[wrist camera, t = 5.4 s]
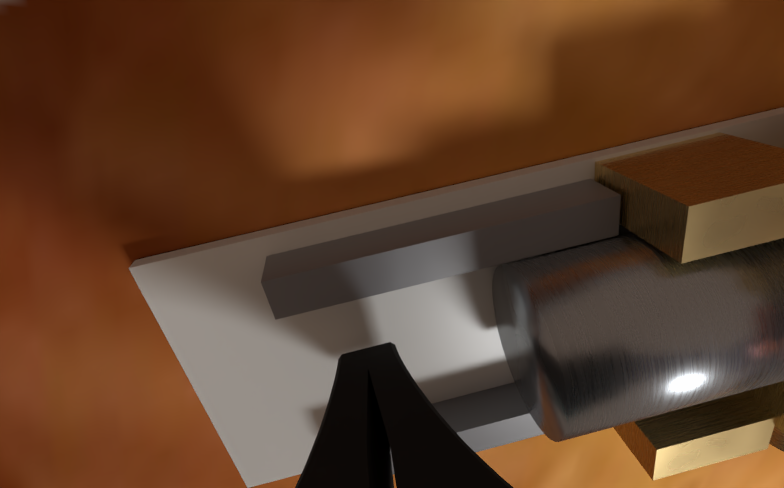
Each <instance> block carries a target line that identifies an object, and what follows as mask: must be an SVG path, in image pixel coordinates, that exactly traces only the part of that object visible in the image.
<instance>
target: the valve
mask: <svg viewBox="0 0 784 488" xmlns="http://www.w3.org/2000/svg"><path fill="white" fill-rule="evenodd" d="M594 181H596V182H598V183H600V184H602V185H603V186H605V187H607V188H609V189H611V190H613V191H614V192H616V193H618V194H620V195H621V201H620V220H619V224H620V225H622V226H623V227H625V228H627V229H628V230H630V231H631V232H633V233H634V234H636V235H637V236H639V237H641V238H642V239H644V240H645V241H647V242H648V243H650V244H652V245H653V246H655V247H656V248H658V249H659V250H661V251H662V252H664V253H666V254H667V255H669V256H670V257H672V258H673V259H675V260H676V261H678V262H680V263H681V264H682V263H686V262H690V261H694V260H698V259H702V258H706V257H710V256H714V255H718V254H722V253H726V252H730V251H734V250H738V249H742V248H746V247H750V246H754V245H757V244H761V243H765V242H769V241H773V240H777V239H781V238H784V148H780V147H776V146H772V145H768V144H764V143H760V142H756V141H752V140H748V139H744V138H740V137H736V136H732V135H728V134H724V133H720V132H719V133H715V134H711V135H706V136H702V137H698V138H694V139H689V140H685V141H681V142H677V143H673V144H668V145H664V146H660V147H656V148H651V149H647V150H643V151H639V152H635V153H630V154H626V155H622V156H618V157H614V158H609V159H605V160H601V161H597V162H595V178H594ZM613 428H614V429H615V430H616V432H617V433H618V434H619V436H620V437H621V438H622V440H623V441H624V442H625V444H626V445H627V446H628V448H629V449H630V450H631V452H632V453H633V454H634V456H635V457H636V458H637V460H638V461H639V462H640V464H641V465H642V466H643V468H644V469H645V471H646V472H647V473H648V475H649V476H650V477H651V479H652V480H656V479H660V478H664V477H667V476H671V475H674V474H678V473H682V472H685V471H689V470H692V469H696V468H700V467H703V466H707V465H710V464H714V463H718V462H721V461H725V460H728V459H732V458H736V457H739V456H743V455H746V454H750V453H754V452H757V451H761V450H764V449H768V445H769V444H771V445H773V446H774V447H776V448H778V449H780V450H782V451H784V381H782V382H778V383H774V384H771V385H767V386H763V387H759V388H756V389H752V390H748V391H745V392H741V393H737V394H734V395H730V396H726V397H722V398H719V399H715V400H711V401H708V402H704V403H700V404H697V405H693V406H689V407H686V408H682V409H678V410H674V411H671V412H667V413H663V414H660V415H656V416H652V417H649V418H645V419H641V420H637V421H634V422H630V423H626V424H623V425H619V426H615V427H613Z"/></svg>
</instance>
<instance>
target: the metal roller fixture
mask: <svg viewBox="0 0 784 488" xmlns="http://www.w3.org/2000/svg"><path fill="white" fill-rule="evenodd" d="M719 132H720V133H724V134H728V135H732V136H736V137H740V138H744V139H748V140H752V141H756V142H760V143H764V144H768V145H772V146H776V147H780V148H784V107H782V108H778V109H773V110H769V111H765V112H761V113H756V114H752V115H748V116H744V117H740V118H735V119H731V120H727V121H723V122H718V123H714V124H710V125H706V126H701V127H697V128H693V129H689V130H684V131H680V132H676V133H672V134H667V135H663V136H659V137H655V138H650V139H646V140H642V141H638V142H634V143H629V144H625V145H621V146H617V147H612V148H608V149H604V150H600V151H595V152H591V153H587V154H583V155H578V156H574V157H570V158H566V159H561V160H557V161H553V162H549V163H544V164H540V165H536V166H532V167H528V168H523V169H519V170H515V171H511V172H506V173H502V174H498V175H494V176H489V177H485V178H481V179H477V180H472V181H468V182H464V183H460V184H455V185H451V186H447V187H443V188H438V189H434V190H430V191H426V192H422V193H417V194H413V195H409V196H405V197H400V198H396V199H392V200H388V201H383V202H379V203H375V204H371V205H366V206H362V207H358V208H354V209H349V210H345V211H341V212H337V213H332V214H328V215H324V216H320V217H316V218H311V219H307V220H303V221H299V222H294V223H290V224H286V225H282V226H277V227H273V228H269V229H265V230H260V231H256V232H252V233H248V234H243V235H239V236H235V237H231V238H226V239H222V240H218V241H214V242H210V243H205V244H201V245H197V246H193V247H188V248H184V249H180V250H176V251H171V252H167V253H163V254H159V255H154V256H150V257H146V258H142V259H137V260H135V261H134V262H133V263H132V265H131V266H130V267H129V270H130V272H131V274H132V275H133V277H134V279H135V281H136V283H137V285H138V286H139V288H140V290H141V292H142V294H143V296H144V298H145V299H146V301H147V303H148V305H149V307H150V309H151V310H152V312H153V314H154V316H155V318H156V320H157V322H158V323H159V325H160V327H161V329H162V331H163V333H164V334H165V336H166V338H167V340H168V342H169V344H170V346H171V347H172V349H173V351H174V353H175V355H176V357H177V358H178V360H179V362H180V364H181V366H182V368H183V370H184V371H185V373H186V375H187V377H188V379H189V381H190V382H191V384H192V386H193V388H194V390H195V392H196V394H197V395H198V397H199V399H200V401H201V403H202V405H203V406H204V408H205V410H206V412H207V414H208V416H209V418H210V419H211V421H212V423H213V425H214V427H215V429H216V430H217V432H218V434H219V436H220V438H221V440H222V442H223V443H224V445H225V447H226V449H227V451H228V453H229V454H230V456H231V458H232V460H233V462H234V464H235V466H236V467H237V469H238V471H239V473H240V475H241V477H242V479H243V480H244V482H245V484H246V486H247V488H249V487H253V486H257V485H261V484H264V483H268V482H272V481H276V480H280V479H283V478H287V477H291V476H295V475H298V474H302V471H303V469H304V467H305V464H306V462H307V459H308V457H309V454H310V452H311V449H312V447H313V444H314V442H315V439H316V437H317V434H318V431H319V428H320V426H321V423H322V420H323V416H324V413H325V410H326V407H327V404H328V401H329V398H330V394H331V390H332V387H333V383H334V379H335V375H336V370H337V365H338V359H339V357H340V356H341V355H342V354H345V353H349V352H353V351H356V350H360V349H364V348H368V347H372V346H376V345H380V344H384V343H388V342H391V343H393V344H395V345H396V348H397V351H398V353H399V355H400V357H401V359H402V361H403V363H404V365H405V366H406V368H407V370H408V371H409V373H410V374H411V376H412V378H413V379H414V381H415V382H416V384H417V385H418V386H419V388H420V389H421V390H422V392H423V393H424V394H425V396H426V397H427V398H428V400H429V401H430V402H431V404H432V405H433V406H434V408H435V409H436V410H437V411H438V412H439V414H440V415H441V416H442V417H443V418H444V420H445V421H446V422H447V423H448V424H449V425H450V426H451V428H452V429H453V430H454V431H455V432H456V433H457V434H458V435H459V436H460V438H461V439H462V440H463V441H464V442H465V443H466V444H467V445H468V446H469V447H470V448H471V449H472V450H473V451H474V452H478V451H482V450H486V449H490V448H493V447H497V446H501V445H505V444H508V443H512V442H516V441H520V440H523V439H527V438H531V437H534V436H538V435H542V434H544V433H543V432H542V431H541V429H540V428H539V427H538V425H537V424H536V422H535V421H534V419H533V418H532V416H531V414H530V413H529V411H528V409H527V407H526V406H525V404H524V402H523V400H522V398H521V395H520V393H519V391H518V389H517V387H516V384H515V382H514V379H513V377H512V374H511V372H510V369H509V366H508V363H507V360H506V357H505V354H504V351H503V348H502V344H501V340H500V337H499V333H498V328H497V324H496V319H495V313H494V306H493V296H492V281H493V275H494V271H495V269H496V268H497V267H498V266H499V265H501V264H505V263H509V262H513V261H517V260H521V259H525V258H529V257H533V256H537V255H541V254H545V253H549V252H554V251H558V250H562V249H566V248H570V247H574V246H578V245H582V244H586V243H590V242H594V241H598V240H602V239H606V238H610V237H614V236H618V235H622V234H626V233H630V232H631V231H630V230H628V229H627V228H625V227H623V226H622V225H620V224H619V220H620V201H621V195H620V194H618V193H616V192H614V191H613V190H611V189H609V188H607V187H605V186H603V185H602V184H600V183H598V182H596V181H594V178H595V162H597V161H601V160H605V159H609V158H614V157H618V156H622V155H626V154H630V153H635V152H639V151H643V150H647V149H651V148H656V147H660V146H664V145H668V144H673V143H677V142H681V141H685V140H689V139H694V138H698V137H702V136H706V135H711V134H715V133H719ZM390 453H391V449H390ZM391 463H392V473H393V474H395V473H394V467H393V461H392V454H391Z"/></svg>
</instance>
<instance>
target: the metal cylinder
mask: <svg viewBox="0 0 784 488" xmlns="http://www.w3.org/2000/svg"><path fill="white" fill-rule="evenodd" d="M492 296H493V306H494V313H495V319H496V324H497V328H498V333H499V337H500V340H501V344H502V348H503V351H504V354H505V357H506V360H507V363H508V366H509V369H510V372H511V374H512V377H513V379H514V382H515V384H516V387H517V389H518V391H519V393H520V395H521V398H522V400H523V402H524V404H525V406H526V407H527V409H528V411H529V413H530V414H531V416H532V418H533V419H534V421H535V422H536V424H537V425H538V427H539V428H540V429H541V431H542V432H543V433H544V434H545V435H546V436H547V437H548V438H550V439H551V440H553V441H555V442H560V441H564V440H567V439H571V438H575V437H578V436H582V435H586V434H589V433H593V432H597V431H601V430H604V429H608V428H612V427H615V426H619V425H623V424H626V423H630V422H634V421H637V420H641V419H645V418H649V417H652V416H656V415H660V414H663V413H667V412H671V411H674V410H678V409H682V408H686V407H689V406H693V405H697V404H700V403H704V402H708V401H711V400H715V399H719V398H722V397H726V396H730V395H734V394H737V393H741V392H745V391H748V390H752V389H756V388H759V387H763V386H767V385H771V384H774V383H778V382H782V381H784V238H781V239H777V240H773V241H769V242H765V243H761V244H757V245H754V246H750V247H746V248H742V249H738V250H734V251H730V252H726V253H722V254H718V255H714V256H710V257H706V258H702V259H698V260H694V261H690V262H686V263H682V264H681V263H680V262H678V261H676V260H675V259H673V258H672V257H670V256H669V255H667V254H666V253H664V252H662V251H661V250H659V249H658V248H656V247H655V246H653V245H652V244H650V243H648V242H647V241H645V240H644V239H642V238H641V237H639V236H637V235H636V234H634V233H633V232H630V233H626V234H622V235H618V236H614V237H610V238H606V239H602V240H598V241H594V242H590V243H586V244H582V245H578V246H574V247H570V248H566V249H562V250H558V251H554V252H549V253H545V254H541V255H537V256H533V257H529V258H525V259H521V260H517V261H513V262H509V263H505V264H501V265H499V266H498V267H497V268H496V269H495V271H494V275H493V281H492Z"/></svg>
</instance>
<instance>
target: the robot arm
mask: <svg viewBox="0 0 784 488" xmlns="http://www.w3.org/2000/svg"><path fill="white" fill-rule="evenodd" d="M390 449H391V453H390ZM391 454H392V461H393V467H394V473H395V480H396V486H397V488H513V487H512V486H511V485H510V484H509V483H507V482H506V481H505V480H504V479H503V478H501V477H500V476H499V475H498V474H497V473H496V472H495V471H494V470H493V469H492V468H491V467H490V466H489V465H487V464H486V463H485V462H484V461H483V460H482V459H481V458H480V457H479V456H478V455H477V454H476V453H475V452H474V451H473V450H472V449H471V448H470V447H469V446H468V445H467V444H466V443H465V442H464V441H463V440H462V439H461V438H460V436H459V435H458V434H457V433H456V432H455V431H454V430H453V429H452V428H451V426H450V425H449V424H448V423H447V422H446V421H445V420H444V418H443V417H442V416H441V415H440V414H439V412H438V411H437V410H436V409H435V408H434V406H433V405H432V404H431V402H430V401H429V400H428V398H427V397H426V396H425V394H424V393H423V392H422V390H421V389H420V388H419V386H418V385H417V384H416V382H415V381H414V379H413V378H412V376H411V374H410V373H409V371H408V370H407V368H406V366H405V365H404V363H403V361H402V359H401V357H400V355H399V353H398V351H397V348H396V345H395V344H393V343H391V342H388V343H384V344H380V345H376V346H372V347H368V348H364V349H360V350H356V351H353V352H349V353H345V354H342V355H341V356H340V357H339V359H338V365H337V370H336V375H335V379H334V383H333V387H332V390H331V394H330V398H329V401H328V404H327V407H326V410H325V413H324V416H323V420H322V423H321V426H320V428H319V431H318V434H317V437H316V439H315V442H314V444H313V447H312V449H311V452H310V454H309V457H308V459H307V462H306V464H305V467H304V469H303V471H302V474H301V476H300V478H299V480H298V483H297V485H296V487H295V488H394V484H393V473H392V463H391Z"/></svg>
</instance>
